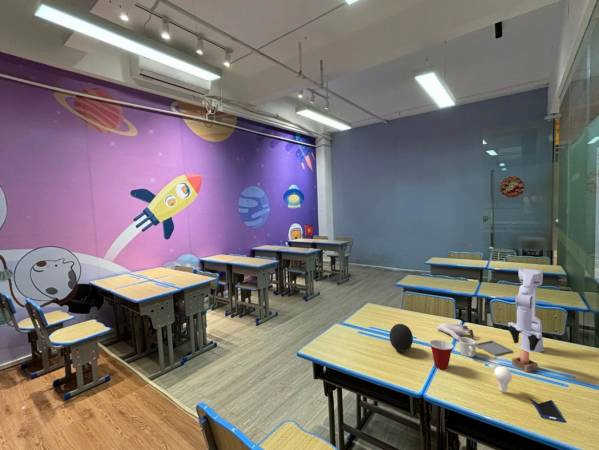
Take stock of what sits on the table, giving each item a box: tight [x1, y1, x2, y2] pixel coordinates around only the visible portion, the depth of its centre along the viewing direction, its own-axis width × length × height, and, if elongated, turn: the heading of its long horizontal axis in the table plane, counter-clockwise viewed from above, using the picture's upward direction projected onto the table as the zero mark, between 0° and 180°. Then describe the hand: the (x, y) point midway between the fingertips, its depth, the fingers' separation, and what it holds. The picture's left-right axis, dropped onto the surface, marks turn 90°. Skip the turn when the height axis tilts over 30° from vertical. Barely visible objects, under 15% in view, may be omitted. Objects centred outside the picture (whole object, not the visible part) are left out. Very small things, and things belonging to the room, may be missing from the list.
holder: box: [511, 356, 539, 373], centre depth 136 cm, size 7×7×4 cm
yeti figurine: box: [436, 322, 475, 342], centre depth 174 cm, size 20×7×20 cm
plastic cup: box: [428, 339, 454, 371], centre depth 139 cm, size 11×11×12 cm
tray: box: [476, 340, 514, 357], centre depth 153 cm, size 12×12×2 cm
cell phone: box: [530, 398, 567, 424], centre depth 110 cm, size 7×14×1 cm, turn 157°
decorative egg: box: [388, 323, 414, 352], centre depth 156 cm, size 12×12×15 cm
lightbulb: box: [493, 366, 513, 394], centre depth 119 cm, size 6×6×11 cm
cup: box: [458, 336, 477, 358], centre depth 148 cm, size 11×8×8 cm
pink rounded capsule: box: [519, 349, 530, 365], centre depth 135 cm, size 3×3×8 cm
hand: (524, 346), depth 136 cm, fingers open, 7 cm apart
